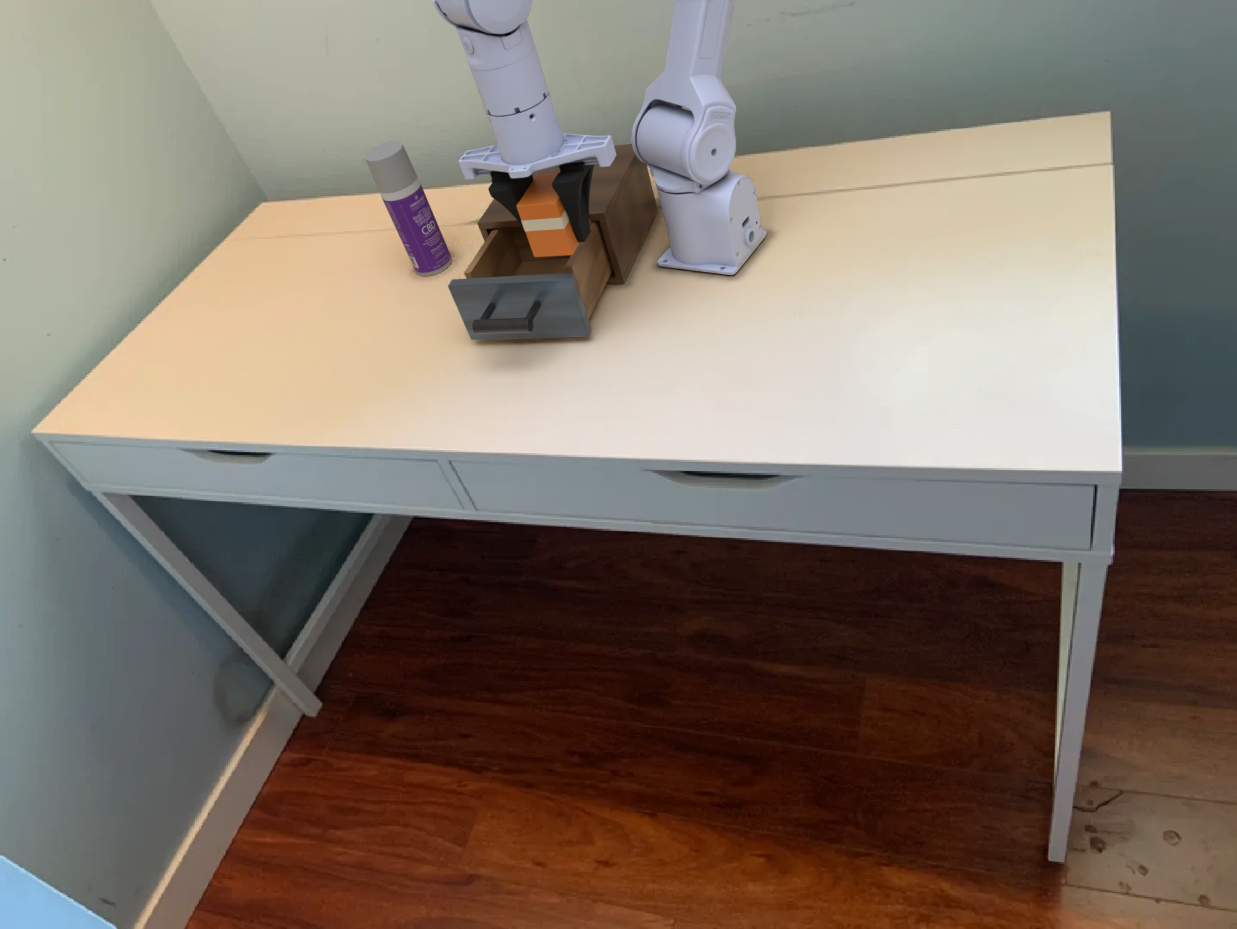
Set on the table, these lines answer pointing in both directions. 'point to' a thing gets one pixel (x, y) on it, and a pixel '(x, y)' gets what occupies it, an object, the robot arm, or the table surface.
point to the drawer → (531, 287)
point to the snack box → (546, 219)
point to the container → (408, 208)
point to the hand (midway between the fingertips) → (562, 237)
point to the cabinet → (605, 209)
